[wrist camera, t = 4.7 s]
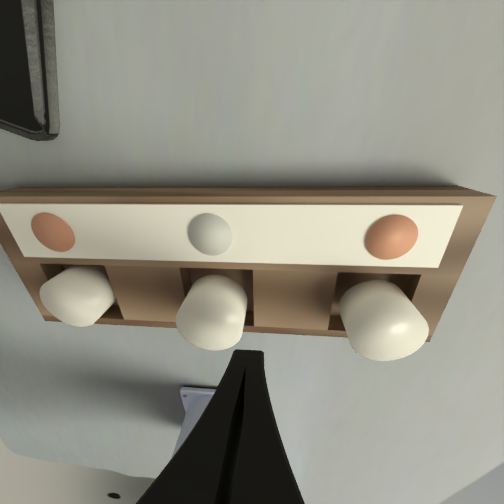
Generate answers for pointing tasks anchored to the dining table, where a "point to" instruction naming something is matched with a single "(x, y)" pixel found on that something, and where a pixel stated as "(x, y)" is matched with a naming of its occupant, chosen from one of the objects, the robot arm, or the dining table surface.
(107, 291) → the end button
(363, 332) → the end button
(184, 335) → the middle button
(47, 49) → the phone
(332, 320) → the button board
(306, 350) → the dining table surface
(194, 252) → the pattern card
